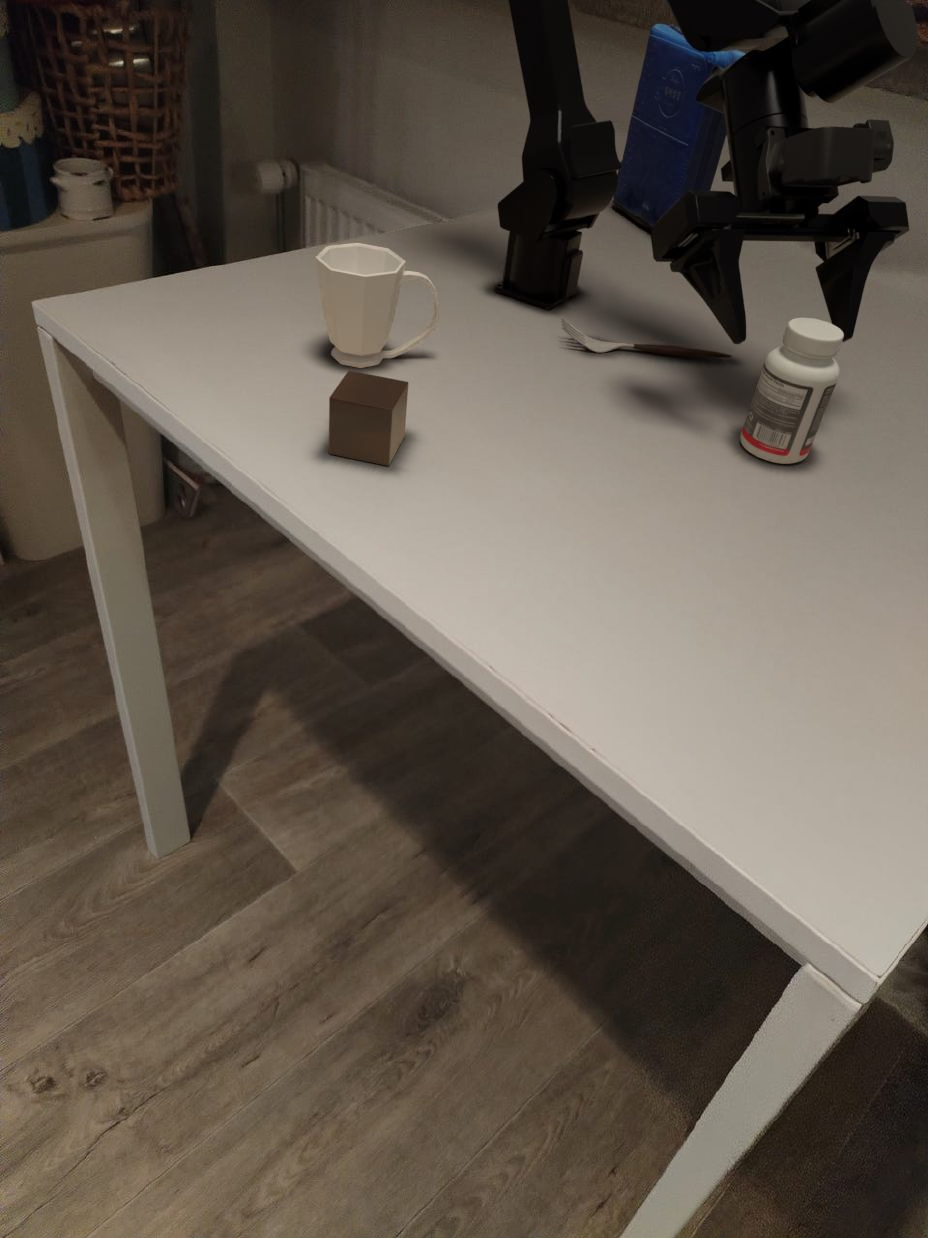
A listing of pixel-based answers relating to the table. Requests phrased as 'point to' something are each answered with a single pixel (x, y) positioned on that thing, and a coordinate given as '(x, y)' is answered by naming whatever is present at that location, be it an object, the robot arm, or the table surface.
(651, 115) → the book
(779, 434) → the pill bottle
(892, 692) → the table surface
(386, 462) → the walnut block
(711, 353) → the fork
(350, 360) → the cup
